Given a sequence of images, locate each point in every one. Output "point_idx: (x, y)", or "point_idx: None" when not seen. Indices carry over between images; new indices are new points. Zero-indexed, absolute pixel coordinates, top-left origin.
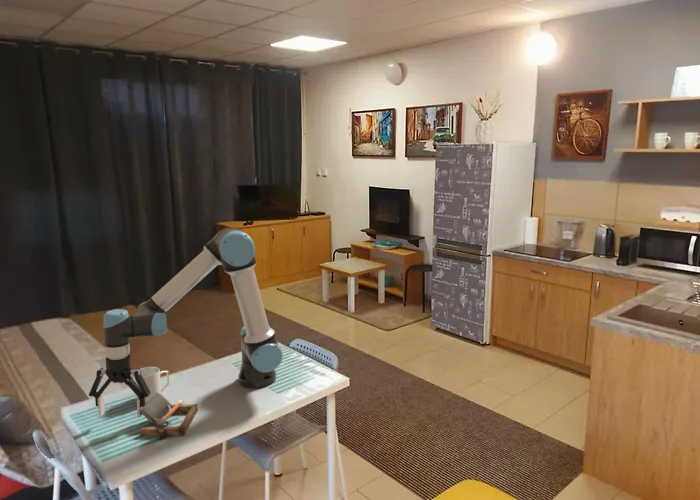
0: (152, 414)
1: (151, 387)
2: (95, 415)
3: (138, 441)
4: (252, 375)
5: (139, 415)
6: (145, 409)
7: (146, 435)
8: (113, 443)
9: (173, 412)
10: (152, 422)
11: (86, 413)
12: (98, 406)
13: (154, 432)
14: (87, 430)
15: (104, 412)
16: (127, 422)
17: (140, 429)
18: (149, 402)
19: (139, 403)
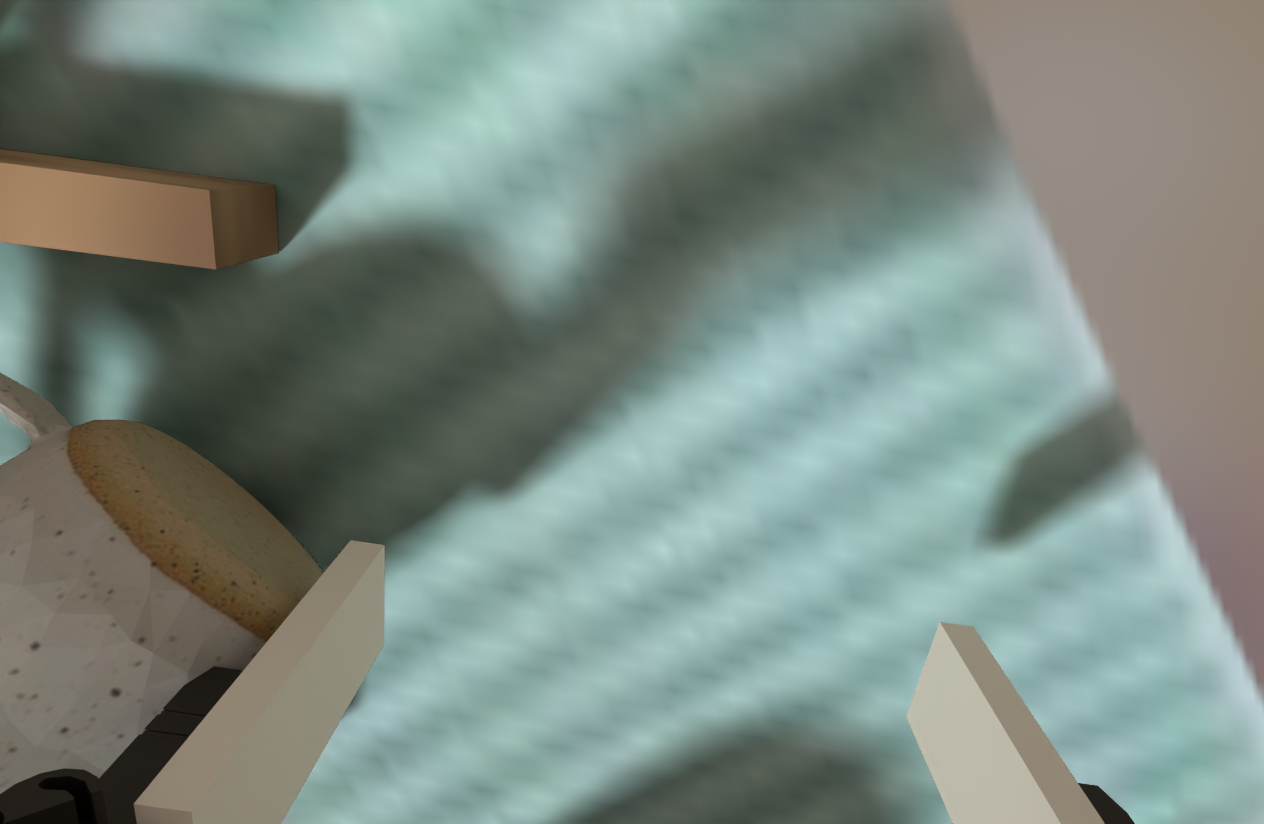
0: (14, 470)
1: None
2: None
3: (249, 42)
4: None
5: (341, 555)
6: (108, 570)
7: (178, 174)
8: (612, 47)
9: None
10: (158, 430)
11: None
12: (1061, 765)
13: (13, 158)
14: (1047, 467)
15: (911, 714)
16: (592, 573)
17: (202, 191)
18: (20, 735)
19: (210, 721)
